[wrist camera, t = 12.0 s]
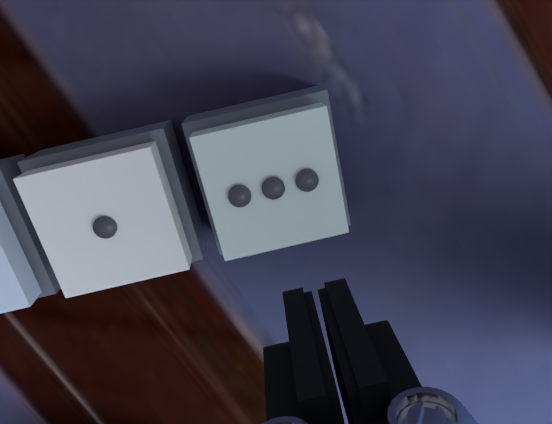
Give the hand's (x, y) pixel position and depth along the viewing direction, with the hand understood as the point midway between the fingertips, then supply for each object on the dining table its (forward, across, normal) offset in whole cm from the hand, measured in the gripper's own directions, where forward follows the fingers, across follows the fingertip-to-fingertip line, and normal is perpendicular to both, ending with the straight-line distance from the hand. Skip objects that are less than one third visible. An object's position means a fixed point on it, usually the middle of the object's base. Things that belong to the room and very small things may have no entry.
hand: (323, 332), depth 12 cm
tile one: (+17, +10, 0) cm, 20 cm away
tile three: (+18, +1, 0) cm, 18 cm away
